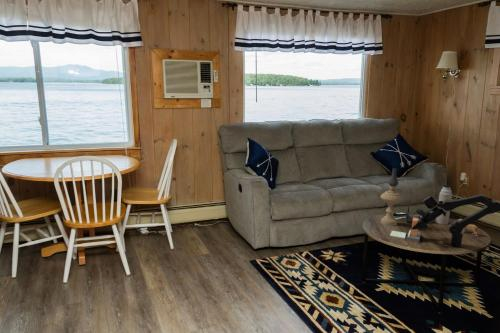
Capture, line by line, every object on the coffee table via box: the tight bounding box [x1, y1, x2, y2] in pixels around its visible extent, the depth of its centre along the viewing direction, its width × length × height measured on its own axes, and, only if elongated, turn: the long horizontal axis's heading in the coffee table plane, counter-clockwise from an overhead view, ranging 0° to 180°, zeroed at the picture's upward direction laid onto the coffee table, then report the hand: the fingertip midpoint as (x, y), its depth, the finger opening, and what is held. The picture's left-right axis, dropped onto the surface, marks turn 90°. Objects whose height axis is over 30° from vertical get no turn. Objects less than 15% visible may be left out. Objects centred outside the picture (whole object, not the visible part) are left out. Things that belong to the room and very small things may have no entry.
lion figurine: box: [457, 218, 481, 237], centre depth 256 cm, size 15×5×9 cm, turn 50°
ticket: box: [410, 218, 419, 237], centre depth 244 cm, size 4×6×12 cm, turn 153°
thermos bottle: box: [435, 184, 453, 226], centre depth 274 cm, size 8×8×28 cm
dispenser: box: [406, 229, 421, 243], centre depth 245 cm, size 7×13×3 cm, turn 153°
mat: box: [389, 230, 407, 240], centre depth 250 cm, size 9×10×1 cm
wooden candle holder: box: [380, 167, 404, 227], centre depth 269 cm, size 15×15×40 cm
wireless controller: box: [405, 200, 435, 224], centre depth 278 cm, size 20×14×17 cm
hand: (412, 227), depth 245 cm, fingers closed on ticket, 5 cm apart
